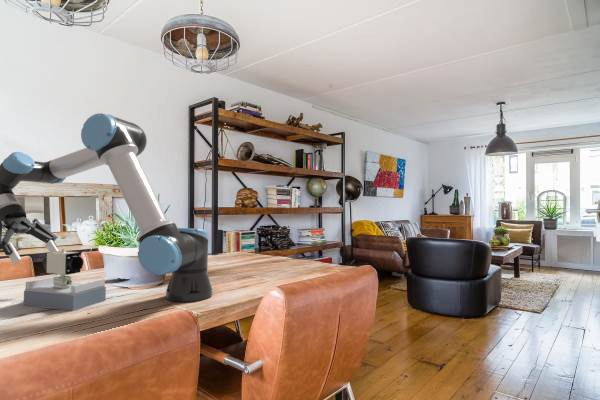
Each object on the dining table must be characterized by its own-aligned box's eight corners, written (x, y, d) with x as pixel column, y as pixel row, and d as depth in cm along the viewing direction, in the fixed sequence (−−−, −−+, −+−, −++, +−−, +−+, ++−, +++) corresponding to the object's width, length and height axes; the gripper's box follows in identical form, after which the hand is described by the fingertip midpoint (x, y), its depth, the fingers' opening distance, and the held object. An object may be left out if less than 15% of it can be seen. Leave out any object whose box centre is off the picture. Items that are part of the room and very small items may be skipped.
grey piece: (105, 300, 117) (105, 278, 117) (73, 310, 105) (73, 286, 105) (52, 295, 122) (52, 274, 123) (16, 304, 111) (16, 281, 111)
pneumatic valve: (69, 290, 108) (70, 250, 109) (41, 287, 112) (42, 248, 112) (85, 286, 114) (86, 248, 114) (58, 284, 117) (58, 247, 117)
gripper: (37, 217, 135) (65, 261, 131) (-41, 217, 111) (-10, 272, 107) (49, 203, 134) (78, 248, 129) (-27, 201, 110) (5, 256, 105)
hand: (38, 259), depth 118 cm, fingers open, 13 cm apart
